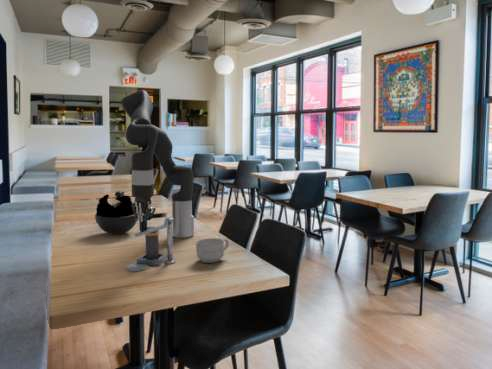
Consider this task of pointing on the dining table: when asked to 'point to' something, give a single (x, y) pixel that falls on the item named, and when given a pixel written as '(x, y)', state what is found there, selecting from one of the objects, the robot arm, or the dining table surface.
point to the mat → (136, 267)
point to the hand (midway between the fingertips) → (143, 231)
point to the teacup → (211, 249)
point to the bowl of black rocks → (115, 215)
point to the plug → (152, 244)
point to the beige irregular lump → (117, 197)
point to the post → (169, 244)
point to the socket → (158, 261)
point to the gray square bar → (155, 228)
